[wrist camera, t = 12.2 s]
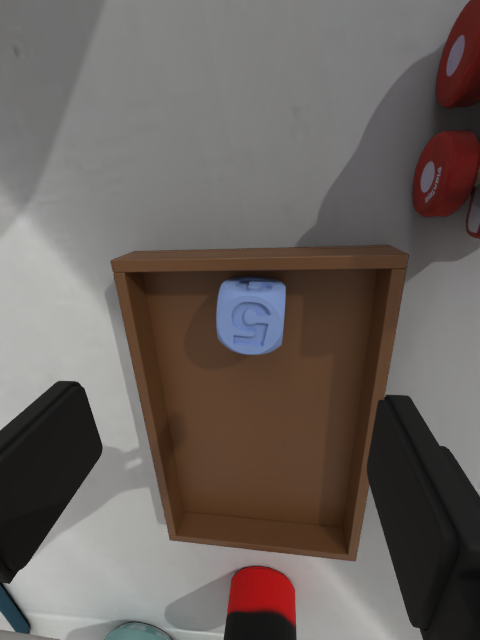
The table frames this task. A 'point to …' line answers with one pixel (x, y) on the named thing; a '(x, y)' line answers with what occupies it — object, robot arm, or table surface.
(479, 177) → the toy fire truck
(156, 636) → the bowl
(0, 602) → the external hard drive
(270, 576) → the soda can
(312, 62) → the table surface
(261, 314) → the decorative dice
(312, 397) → the tray
